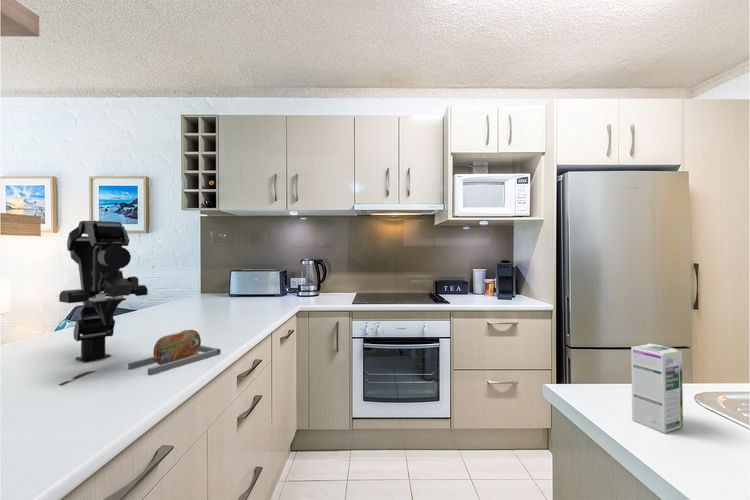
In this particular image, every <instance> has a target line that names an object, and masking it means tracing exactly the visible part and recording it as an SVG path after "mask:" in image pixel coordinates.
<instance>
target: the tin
mask: <svg viewBox="0 0 750 500" xmlns="http://www.w3.org/2000/svg"><path fill="white" fill-rule="evenodd" d="M200 335H201V334H199V332H198V331H197V330H195V329H184V330H182V331H178V332H175V333H172V334H167V335H164V336H162V337H160V338H159V339H158V340H157V341H156V342H155V344H154V346H153V351H152V352H153V357H154V360H155V362H156V364H157V365H158V366H159V365H162V364H166V363H169V362H173V361H176V360H180V359H183V358H187V357H190V356H194V355H198V353H199V352H200V351H199V349H200V345H202V344H201V343H202V340H201V336H200Z"/></svg>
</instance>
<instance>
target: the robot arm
mask: <svg viewBox="0 0 750 500" xmlns="http://www.w3.org/2000/svg"><path fill="white" fill-rule="evenodd" d="M83 235H84V236H83ZM129 244H130V238H129V235H128V231H127V230H126V228H125V226H124V225H123V223H122V222H120V221H110V220H109V221H108V220H106V221H105V220H82V221H81V220H80V221H79V222H78V225H77V227H76V228H74V229H73V230H71V231H70V232H69V233H68V237H67V241H66V249H67V251H68V252H69V253H70V258H71V260H73V261H74V263H76V264H77V265H78V272H79V281H80V289H67V290H66V289H65V290H61V292H60V293H59V296H58V298H59V299H58V300H59V301H58V302H59V303H65V304H75V303H82V305H83V306H82V309H81V311H80V313H79V315H78V316H77V319H76V321H75V324H74V328H73V340H75V341H76V342H80V356H77V357H75V360H76V361H80V362H83V363H89V362H94V361H97V360H101V359H106V358H110V357H112V355H111V354H109V353H106V338H107V337H108V338H109V337H113V336H114V329H115V324H116V320H115V319H114V315H115V312H116V310H117V308H118V307H119V305H120V304H121V303H122V302H124V301H126V300H127V298H126V297H124V296H131V295H134V296H136V297H141V296H142V297H143V296H148V293H149V292H148V291H149V289H148V287H147V286H146V285H145V284H139V278H138V277H137V276H129V277H127V278H124V274H123V270H120V269H122V268H125V267H126V266H128V265H129V263H130V262H131V259H132V256H131V252H130V251H129V250H128V249H127V248H126V247H129Z"/></svg>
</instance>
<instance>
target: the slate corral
mask: <svg viewBox="0 0 750 500" xmlns="http://www.w3.org/2000/svg"><path fill="white" fill-rule="evenodd" d="M198 352H201V353H199V354H198V353H197V354H196V355H194V356H190V357H187V358H183V359H180V360H176V361H173V362H169V363H166V364H162V365H159V364H158V365H155V366H152V367H149V368H147V375H149V376H153V375H156V374H158V373H159V374H160V373H162V372H165V371H170V370H172V369H175V368H179V367H182V366H186V365H188V364H189V365H190V364H192V363H195V362H198V361H201V360H205V359H208V358H211V357H215V356H220V355H221V348H216V347H211V346H206V345H202V344H201V345H200V349H199V351H198ZM155 363H156V362H155V360H154V356H150V357H146V358H144V359H140V360H135V361H131V362H128V363H127V367H128V368H127V369H128V370H134V369H137V368H140V367H145V366H148V365H151V364H155ZM156 364H157V363H156Z"/></svg>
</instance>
